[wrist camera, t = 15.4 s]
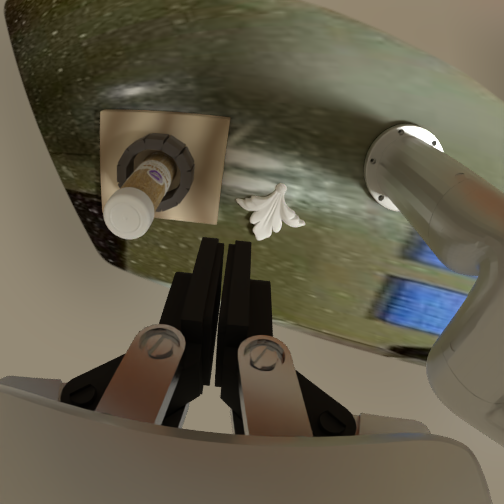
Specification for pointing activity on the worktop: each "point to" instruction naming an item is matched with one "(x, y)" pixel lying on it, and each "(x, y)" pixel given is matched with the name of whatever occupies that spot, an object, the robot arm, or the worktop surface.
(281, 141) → the worktop surface
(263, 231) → the acanthus leaf ornament
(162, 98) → the worktop surface
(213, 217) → the socket board
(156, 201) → the sprinkles bottle
